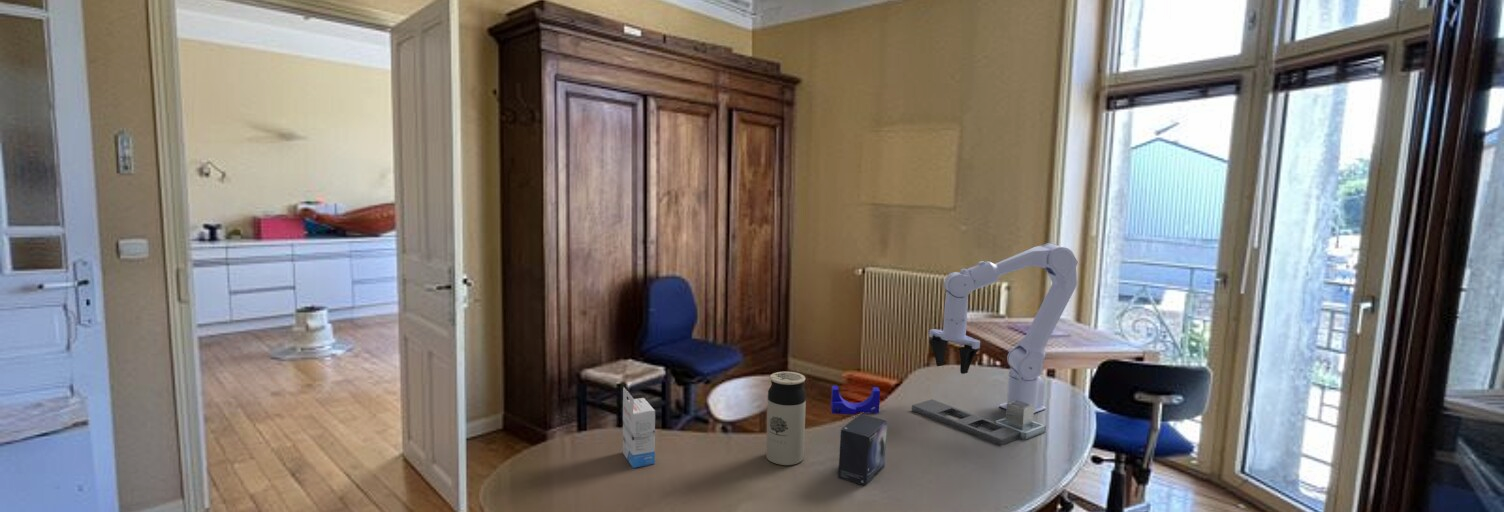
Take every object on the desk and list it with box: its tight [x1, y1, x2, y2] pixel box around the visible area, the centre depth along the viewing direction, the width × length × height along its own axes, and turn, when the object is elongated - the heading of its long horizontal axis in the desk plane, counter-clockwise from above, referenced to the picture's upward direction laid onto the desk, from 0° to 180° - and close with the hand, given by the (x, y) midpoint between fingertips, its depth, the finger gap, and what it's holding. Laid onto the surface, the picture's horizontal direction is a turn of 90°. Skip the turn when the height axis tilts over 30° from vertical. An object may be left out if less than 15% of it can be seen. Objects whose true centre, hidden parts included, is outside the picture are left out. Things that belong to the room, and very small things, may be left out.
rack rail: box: [911, 399, 1022, 446], centre depth 164 cm, size 8×26×1 cm, turn 36°
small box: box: [837, 413, 888, 486], centre depth 135 cm, size 11×6×10 cm, turn 148°
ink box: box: [622, 387, 656, 469], centre depth 139 cm, size 8×5×15 cm, turn 26°
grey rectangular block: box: [1005, 400, 1035, 432], centre depth 160 cm, size 4×4×6 cm
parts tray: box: [993, 416, 1047, 441], centre depth 160 cm, size 8×8×2 cm
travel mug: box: [765, 371, 807, 466], centre depth 141 cm, size 8×8×18 cm
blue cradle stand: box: [830, 385, 881, 415], centre depth 170 cm, size 12×4×6 cm, turn 87°
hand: (951, 369), depth 175 cm, fingers open, 7 cm apart
